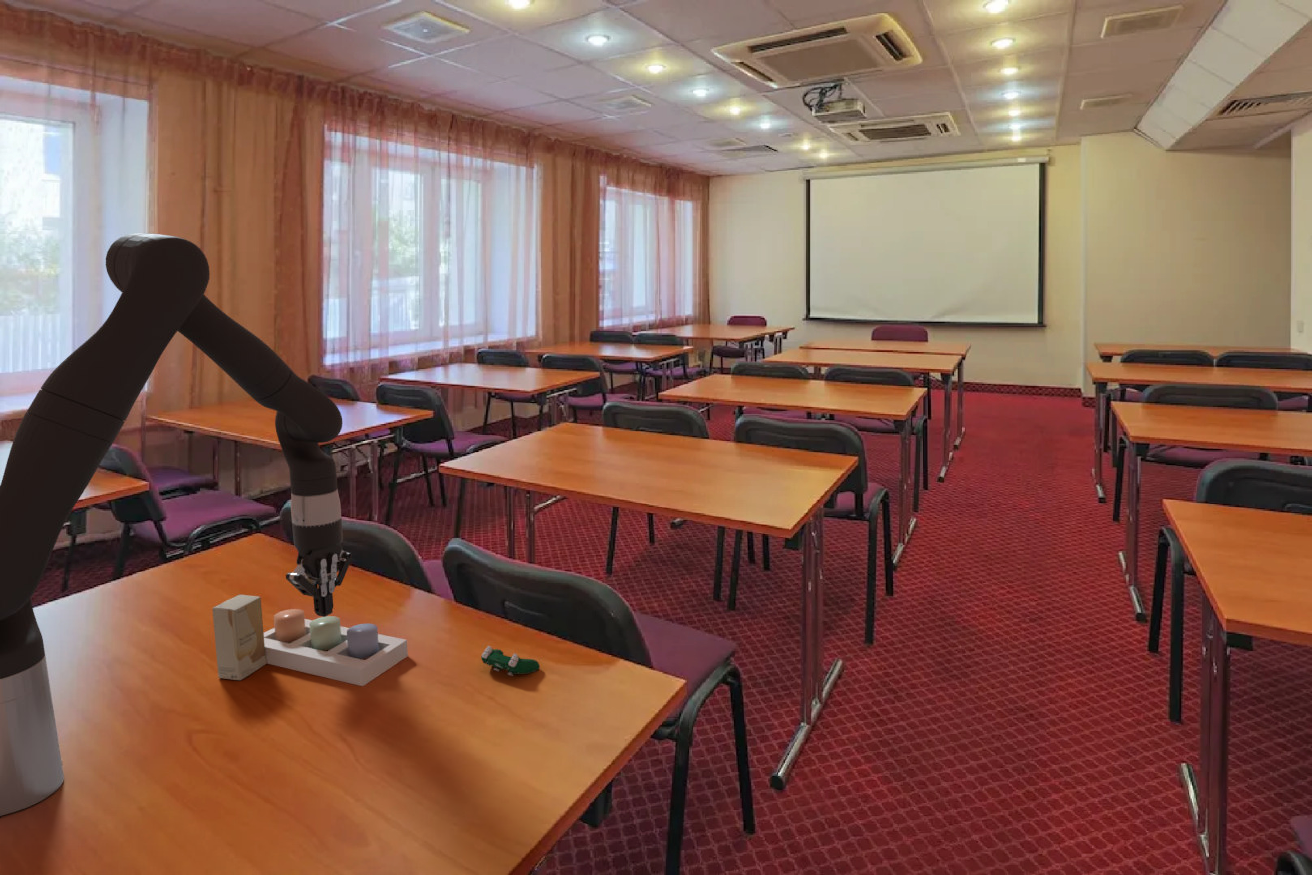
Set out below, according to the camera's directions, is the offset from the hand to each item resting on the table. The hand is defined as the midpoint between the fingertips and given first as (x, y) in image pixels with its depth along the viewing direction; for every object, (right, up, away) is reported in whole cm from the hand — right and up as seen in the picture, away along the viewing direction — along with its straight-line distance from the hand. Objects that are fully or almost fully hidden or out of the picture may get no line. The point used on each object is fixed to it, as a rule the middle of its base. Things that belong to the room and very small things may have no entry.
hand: (324, 614), depth 128 cm
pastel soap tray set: (0, -8, +1) cm, 8 cm away
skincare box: (-12, -9, -3) cm, 15 cm away
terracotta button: (-8, -5, +4) cm, 10 cm away
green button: (0, -5, +1) cm, 5 cm away
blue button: (+7, -6, -2) cm, 10 cm away
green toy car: (+32, -9, -2) cm, 33 cm away
